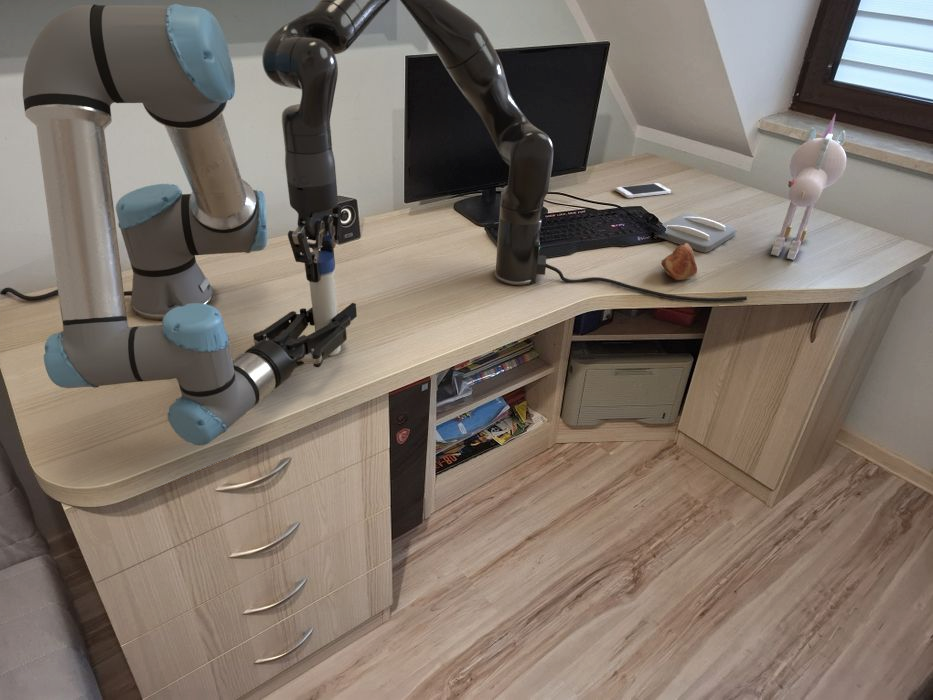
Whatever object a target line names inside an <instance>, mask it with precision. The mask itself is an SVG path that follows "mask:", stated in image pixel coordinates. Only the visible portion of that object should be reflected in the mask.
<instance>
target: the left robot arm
mask: <svg viewBox="0 0 933 700" xmlns="http://www.w3.org/2000/svg"><path fill="white" fill-rule="evenodd" d="M229 50H230V49H229V46H228V43H227V40H226V37H225V34H224V32H223V29H222V27H221V25H220V24H219V21H218V20H217V18H216V17H215V16H214V15H213V13H212V12H210V11H209V10H207V9H206V8H203V7H199V6H188V5H187V6H186V5H183V4H182V5H181V4H179V3H174V4H173V3H172V4H171V5H141V4H140V5H130V4H129V5H126V4H125V5H123V4H121V5H120V4H113V5H112V4H110V5H109V4H105V5H104V4H102V5H101V4H100V5H99V4H94V3H93V4H90V3H88V4H79V5H75V6H72V7H69V8H67V9H65V10H62V11H61V12H59V13H57V14H56V15H55V16H54V17H52V18H51V19H50V20H49V21H48V22H47V23H46V24H45V25H44V27H43V28H42V29H41V31H40V32H39V33H38V34H37V37H36V38H35V40H34V42H33V44H32V45H31V48H30V51H29V53H28V56H27V59H26V61H25V66H24V72H23V78H22V100H23V101H22V102H23V108H24V115H25V118H26V119H28V120H29V121H30V122H31V123H32V124H34V125H35V126H36V127H35V128H36V135H37V142H38V148H39V149H38V151H39V157H40V164H41V172H42V173H41V174H42V179H43V180H42V181H43V188H44V195H45V196H44V197H45V202H46V209H47V217H48V225H49V232H50V240H51V241H50V242H51V247H52V256H53V263H54V264H53V265H54V272H55V278H56V279H55V280H56V287H57V289H54V290H52V291H50V292H47V293H45V294H41V295H40V294H39V295H26V294H23V293H21V292H19V291H17V290H16V289H14V288H12V287H4V288H3V289H2V290H1V291H0V295H2V296H3V295H6V294H8V293H11V294H12V295H13V296H15V297H17V298H18V299H21V300H24V301H28V302H38V301H42V300H46V299H50V298H52V297H54V296H57V295H58V302H59V309H60V317H61V322H62V331H59V332H56V333H53V334H51V335H49V336H48V338H46V341H45V343H44V354H43V362H44V367H45V371H46V373H47V376H48V378H49V379H50V381H51V382H52V383H53V384H55V386H57V387H60V388H62V389H63V388H64V389H76V388H77V389H78V388H93V389H95V388H99V387H103V386H112V385H122V384H123V385H124V384H130V383H131V384H132V383H142V382H153V381H165V380H177V383H178V386H179V390H180V393H181V396H180V397H178V398H176V399H175V401H174V402H173V403H171V405H170V406H168V411H167V420H168V423H169V424H170V427H171V428H172V429H173V431H174V432H175V433H176V435H178V437H179V438H181V439H182V440H183V441H185V442H187V443H190V444H192V445H194V446H205V445H207V444H209V443H210V442H212V441H213V440H214V439H216V438H218V437H220V436H221V435H222V434H223V433H226V432H227V431H228V429H229V428H230V427H231V426H233V425H234V424H235V423H236V422H237V421H238V420H240V419H241V418H242V417H244V416H245V415H246V413H248V412H249V411H251V410H252V409H253V408H254V407H256V405H257V404H259V403H260V402H261V401H262V400H264V399H265V398H267V396H268V395H270V394H271V393H272V392H274V390H276V389H277V388H278V387H280V386H281V385H282V384H284V383H285V382H286V381H287V380H288V379H289V378H290V377H291V376H292V374H293V372H294V370H295V369H296V368H298V367H302V366H303V365H304V364H306V363H307V364H313V368H320V367H321V366H322V364H323V362H324V360H326V358H328V357H330V356H329V355H330V354H331V353H332V352H333V351H334V350H335V349H337V348H338V347H339V346H340V345H342V344H344V343H345V342H346V341H347V339H348V336H347V335H348V334H347V327H349V326H350V325H351V323H352V321H353V320H355V319H356V318H357V316H358V313H357V312H358V311H357V303H355V302H351V303H350V304H349V305H347V306H346V307H345V308H344V309H342V310H341V311H340V312H339V313H338V314H337V315H336V316H335V317H333V318H332V323H331V324H329V325H327V326H325V327H323V328H321V329H319V330H317V331H315V330H314V332H311V333H310V334H308V335H306V334H303V333H304V331H305V330H306V329H307V327H309V326H312V327H314V318H313V309H312V307H310V308H309V309H308V310H307V308H305V307H304V308H302V307H301V308H299V313H297V312H296V311H295V310H292V311H289V312H288V313H286V314H285V315H284V316H282V317H280V318H279V319H278V320H276V321H275V322H273V323H272V324H271V325H269V326H267V327H265V329H263V330H260V331H258V332H255V333H253V334H252V337H253V343H254V344H253V345H252V346H251V347H249V348H247V350H245V351H244V352H242V353H240V354H239V355H237V356H236V357H235V358H234V359H233V358H232V352H231V346H230V343H229V342H230V338H229V334H228V333H227V330H226V327H225V323H224V318H223V316H222V314H221V312H220V311H219V310H218V309H217V308H216V307H214V306H212V305H211V303H212V302H213V300H214V292H213V287H212V286H211V283H210V281H209V280H208V277H207V276H206V275H205V274H204V272H203V270H202V269H201V267H200V266H199V264H198V263H197V260H196V256H208V255H223V254H237V253H238V254H239V253H241V254H242V253H245V254H250V253H253V252H260V251H263V250H264V249H266V247H267V245H268V244H267V243H268V229H267V206H266V205H267V204H266V196H265V193H264V192H263V191H262V190H257V189H253V187H252V186H251V185H250V184H249V183H248V182H247V181H245V180H244V178H242V176H241V173H240V169H239V166H238V162H237V158H236V155H235V152H234V149H233V143H232V142H231V138H230V135H229V131H228V128H227V124H226V121H225V118H224V114H223V112H224V111H225V109H226V107H227V104H228V101H231V100H232V99H233V98H234V97H235V93H236V81H235V73H234V67H233V63H232V59H231V56H230V54H229V53H230V51H229ZM115 103H116V104H142V105H143V107H144V109H145V111H146V113H147V114H148V115H149V116H150V117H151V118H152V119H153V120H154V121H155V122H157V123H159V124H161V125H163V126H164V128H165V131H166V133H167V135H168V138H169V139H170V142H171V144H172V146H173V147H172V148H173V149H174V151H175V154H176V156H177V158H178V161H179V163H180V165H181V168H182V170H183V172H184V175H185V177H186V179H187V182H188V184H189V187H190V189H191V193H183V192H182V190H181V188H180V187H179V186H178V185H177V184H173V183H172V184H170V183H158V184H157V183H156V184H151V185H146V186H143V187H140V188H136V189H134V190H132V191H129V192H128V193H126V194H123V196H121V197H120V198H119V199H118V200H117V202H116V205H115V207H114V200H113V191H112V182H111V176H110V175H111V174H110V167H109V166H110V165H109V158H108V157H109V156H108V150H107V141H106V134H105V133H106V132H105V130H106V129H107V128H108V127H109V126H110V125H111V123H112V122H113V119H112V118H113V117H112V110H111V105H113V104H115ZM115 212H116V215H115ZM116 216H117V220H118V224H117V225H116ZM117 226H118V228H119V229H120V232H121V235H122V239H123V242H124V246H125V249H126V253H127V257H128V260H129V263H130V267H131V269H132V289H131V290H129V291H127V290H126V291H124V282H123V274H122V273H123V272H122V265H121V258H120V249H119V241H118V233H117ZM125 297H130V299H131V300H130V301H131V306H132V310H133V312H134V314H136V315H137V316H138V317H140V318H142V319H145V320H150V321H162V324H150V325H140V326H139V325H138V326H137V325H136V326H129V323H128V315H127V308H126V307H127V306H126V298H125ZM302 334H303V335H302Z"/></svg>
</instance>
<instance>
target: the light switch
mask: <svg viewBox="0 0 933 700" xmlns="http://www.w3.org/2000/svg"><path fill="white" fill-rule="evenodd" d="M661 224H662V225H663V226H664V227H665V228H666V231H665V234H667V235H668V237H665V236H662V235H658V236H657V235H654V236H655V237H657V238H659V239H663V240H665V241H669V242H671V243H674V244H677V245H679V246H680V245H684V244H685V243H688V244H689V245H690V246H691V248H692V250H694V251H697V252H699V253H709V252H711V251H712V250H714V249H716V248H717V247H719V246H720V245H722V244H724V243H725V242H727V241H730V239H732V238H734V237H736V234H737V228H736V227H734V226H732V225H729V224H725V223H722V222H719V221H716V220H713V219H710V218H707V217H703V216H700V215H697V214H694V213H690V212H683V213H682V214H679V215H677V216H675V217H673V218H671V219H669V220H668V221H666V222H663V223H661Z"/></svg>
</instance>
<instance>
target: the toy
mask: <svg viewBox="0 0 933 700" xmlns="http://www.w3.org/2000/svg"><path fill="white" fill-rule="evenodd" d="M836 116H837V115H836V112H835V113H834V115H833V116H832V119H831V120H830V122H829V124H828V126H827V128H826V130H825V131H824V133H823V134H822V136H821V137H817V138H816V136H817V128H815V127H810V129H809V130H808V133H807V135H806V136H805V142H804V143H802V144H801V145H800V146H798V148H797V149H796V150H795V151H794V152H793V154H792V156H791V159H790V162H789V173H790V175H791V178H792V180H789V181H788V188H789V189H788V198H789V201H790V202H789V205H788V209H787V212H786V215H785V218H784V221H783V223H782V227H781V230H780V233H779V235H777V236H776V239H775V241H774V243H773V246H772V249H771V253H770V255H772V256H776V257H779V255H780V253H781V252H782V249H783V248H784V246H785V242H786V240H789V238H790V234H791V232H792V227H793V225H792V223H793V219H794V217H795V213H796V211H797V208H798V207H801V208H802V207H804V208H805V210H804V213H803V216H802V219H801V222H800V225H799V227H798V230H797V233H796V237H795V239H793V240H792V242H791V245H790V247H789V250H788V253H787V256H786V259H788V260H792V261H794V260H795V259H796V257H797V255H798V253H799V251H800V249H801V245H802V244H803V243H804V240H805V238H806V235H807V231H808V228H807V227H808V224H809V221H810V218H811V215H812V212H813V209H814V207H815V204H816V202H817V201H818V200H819V199H820V197H821V195H822V193H823V191H824V189H827V188H828V187H831V186H832V185H834V184H835V183H836V182H837V181H838V180H840V178H841V177H842V176H843V174H844V173H845V170H846V168H847V167H846V166H847V154H846V152H845V150H844V148H843V145H844V143H845V141H846V140H847V134H846V131H845V130H840V131H839V132H838V133H837V135H836V137H835V139H833V129H834V125H835V120H836ZM841 135H842V138H841V141H840V137H841Z"/></svg>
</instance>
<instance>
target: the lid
mask: <svg viewBox="0 0 933 700" xmlns="http://www.w3.org/2000/svg"><path fill="white" fill-rule="evenodd" d="M310 252H311V255H312V252H313V251H310ZM334 258H335V254H334V255H333V253H331V252H328V251H320V250H319V254H318V261H319V270H320V275H322V274H327V273H330V272H332V271H333V270H334V271H335V269H336V261H335V262H334Z"/></svg>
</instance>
